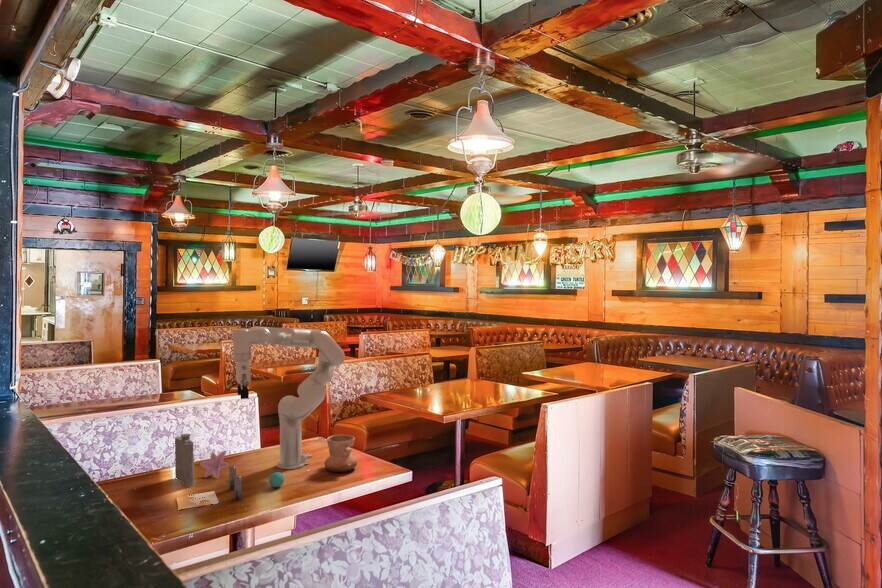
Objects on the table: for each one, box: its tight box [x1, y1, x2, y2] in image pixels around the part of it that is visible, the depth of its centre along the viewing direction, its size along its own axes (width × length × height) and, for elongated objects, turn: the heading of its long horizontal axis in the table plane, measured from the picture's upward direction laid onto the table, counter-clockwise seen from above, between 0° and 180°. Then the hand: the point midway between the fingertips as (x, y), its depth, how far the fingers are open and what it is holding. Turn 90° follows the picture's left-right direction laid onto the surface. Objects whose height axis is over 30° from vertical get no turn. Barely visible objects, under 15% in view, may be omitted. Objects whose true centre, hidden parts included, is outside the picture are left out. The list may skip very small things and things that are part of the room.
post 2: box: [234, 474, 243, 502], centre depth 218 cm, size 3×3×9 cm
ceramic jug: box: [324, 434, 358, 473], centre depth 253 cm, size 18×14×14 cm
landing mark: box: [187, 490, 220, 506], centre depth 217 cm, size 14×14×1 cm
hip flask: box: [174, 433, 195, 488], centre depth 237 cm, size 16×4×20 cm, turn 42°
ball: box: [268, 471, 285, 488], centre depth 231 cm, size 6×6×6 cm
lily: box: [199, 450, 230, 480], centre depth 246 cm, size 12×12×10 cm
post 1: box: [228, 465, 237, 491], centre depth 229 cm, size 3×3×9 cm
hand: (243, 396), depth 245 cm, fingers open, 9 cm apart
